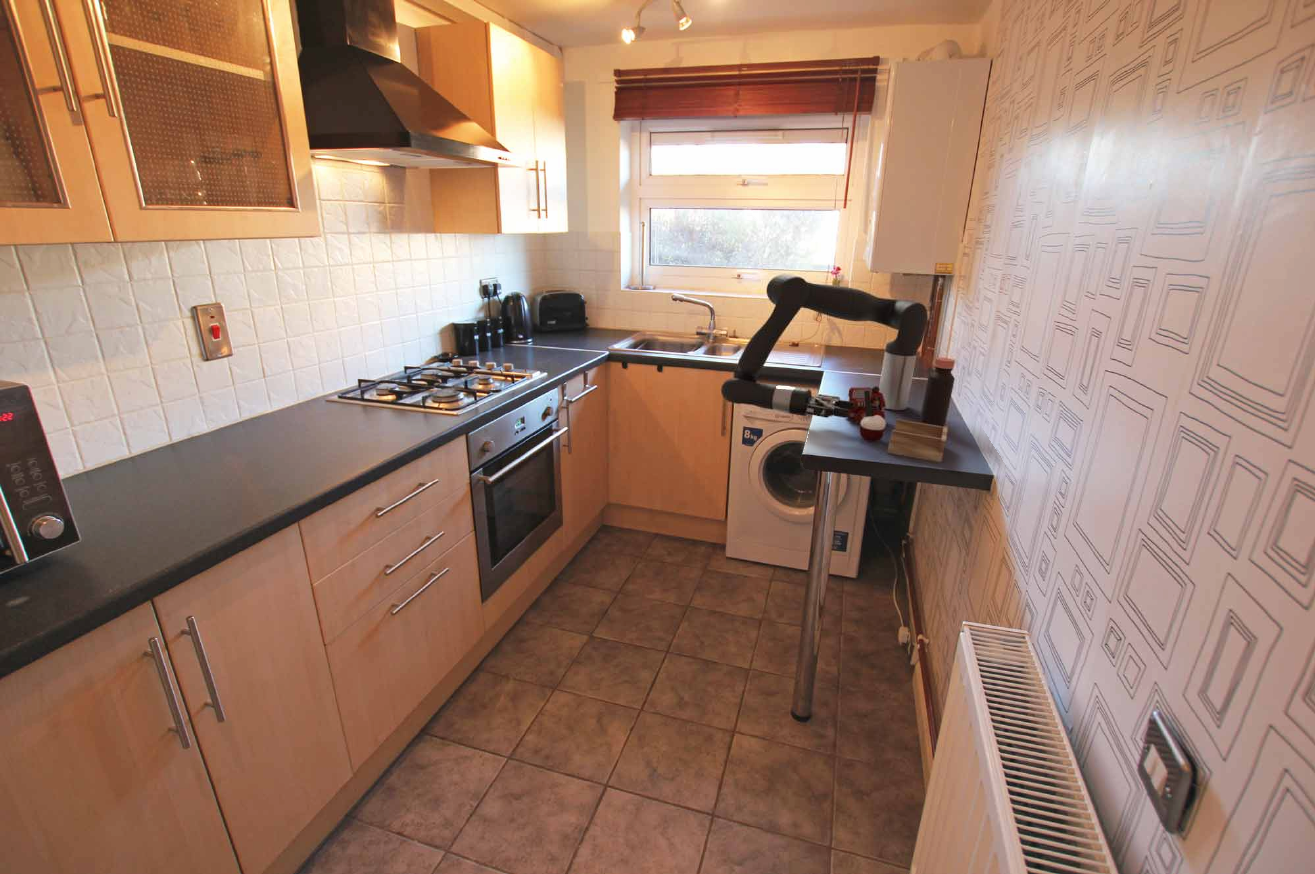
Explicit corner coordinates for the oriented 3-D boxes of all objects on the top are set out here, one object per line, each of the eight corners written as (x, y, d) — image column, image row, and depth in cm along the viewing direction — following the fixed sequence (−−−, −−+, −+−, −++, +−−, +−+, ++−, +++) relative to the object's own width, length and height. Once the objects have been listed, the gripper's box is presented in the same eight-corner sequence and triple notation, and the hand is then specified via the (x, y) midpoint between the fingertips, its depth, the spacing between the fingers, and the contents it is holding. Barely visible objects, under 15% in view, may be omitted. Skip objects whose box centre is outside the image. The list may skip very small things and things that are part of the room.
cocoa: (885, 446, 159) (895, 403, 154) (860, 443, 159) (870, 400, 155) (877, 433, 168) (886, 392, 163) (853, 430, 168) (862, 389, 164)
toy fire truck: (889, 424, 177) (895, 389, 174) (852, 425, 174) (857, 390, 170) (875, 417, 183) (881, 383, 180) (839, 418, 180) (844, 384, 177)
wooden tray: (893, 437, 165) (897, 418, 163) (943, 446, 160) (948, 426, 158) (887, 452, 153) (891, 431, 152) (941, 462, 148) (945, 441, 146)
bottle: (918, 422, 179) (931, 355, 173) (943, 426, 177) (957, 358, 171) (919, 429, 173) (933, 360, 167) (945, 432, 171) (960, 363, 165)
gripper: (786, 392, 163) (848, 402, 156) (799, 382, 175) (857, 390, 168) (783, 419, 165) (844, 430, 159) (796, 407, 177) (853, 416, 171)
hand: (851, 409), depth 163 cm, fingers open, 8 cm apart
